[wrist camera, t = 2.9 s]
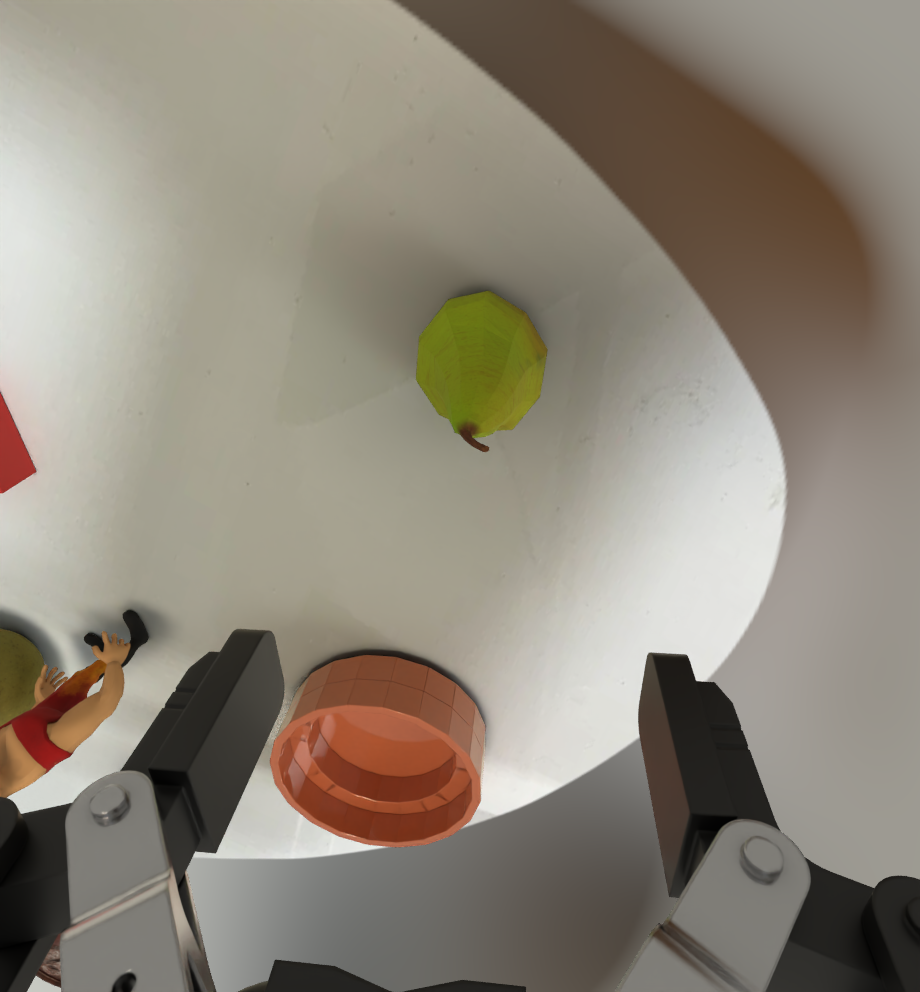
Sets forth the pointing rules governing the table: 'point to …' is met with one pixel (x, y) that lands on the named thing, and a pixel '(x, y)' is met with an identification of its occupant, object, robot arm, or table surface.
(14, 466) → the red rectangular block
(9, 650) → the apple
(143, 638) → the action figure
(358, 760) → the bowl
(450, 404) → the fruit
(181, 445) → the table surface
